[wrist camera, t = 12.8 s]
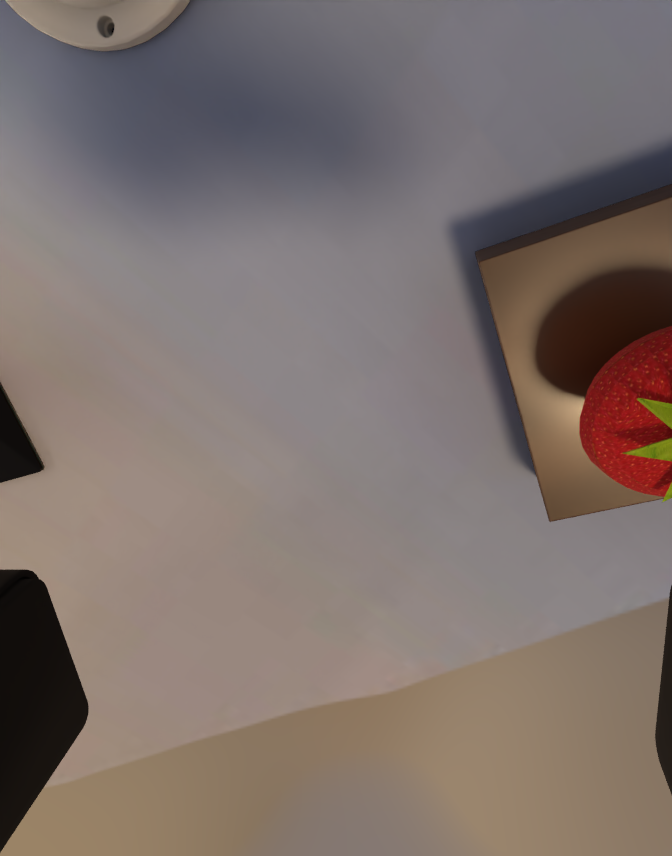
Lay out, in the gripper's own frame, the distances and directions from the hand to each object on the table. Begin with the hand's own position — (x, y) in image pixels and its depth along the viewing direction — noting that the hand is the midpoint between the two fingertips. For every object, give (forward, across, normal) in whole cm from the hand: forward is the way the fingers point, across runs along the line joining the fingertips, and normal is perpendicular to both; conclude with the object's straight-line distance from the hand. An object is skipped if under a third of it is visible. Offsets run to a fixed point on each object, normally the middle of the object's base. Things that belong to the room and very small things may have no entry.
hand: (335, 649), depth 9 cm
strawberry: (+20, -10, +2) cm, 22 cm away
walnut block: (+25, -10, +2) cm, 27 cm away
